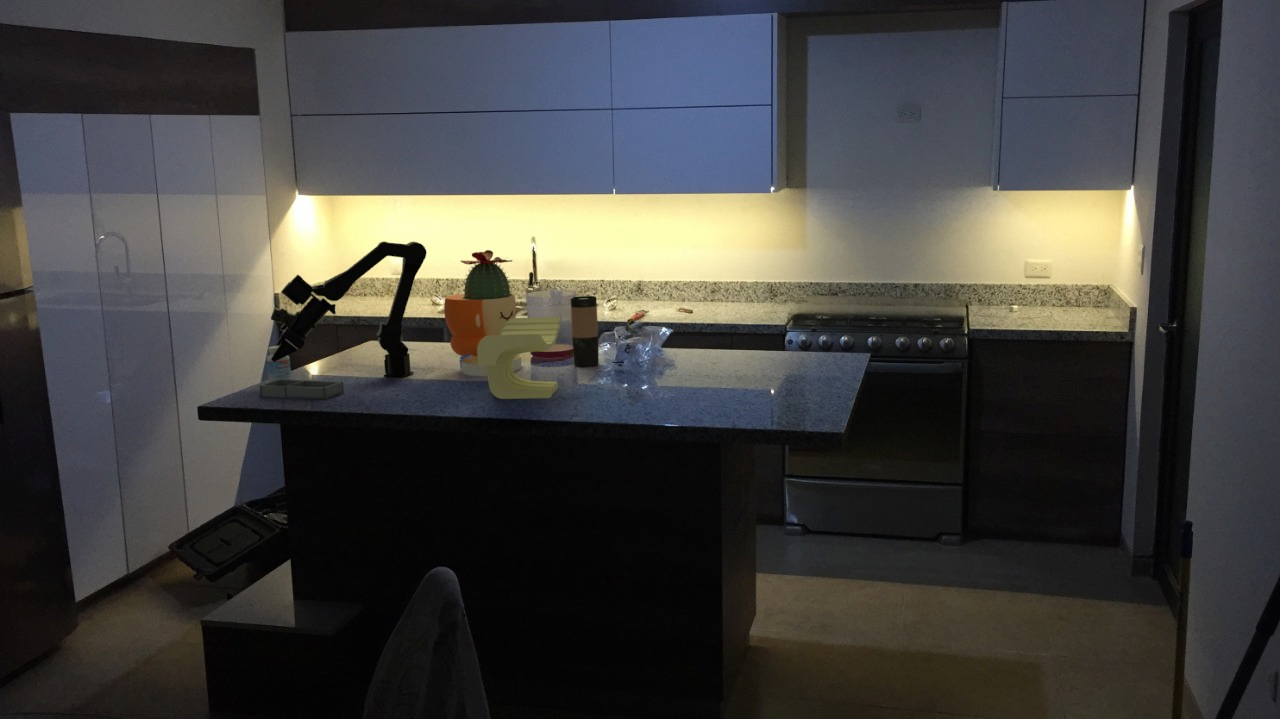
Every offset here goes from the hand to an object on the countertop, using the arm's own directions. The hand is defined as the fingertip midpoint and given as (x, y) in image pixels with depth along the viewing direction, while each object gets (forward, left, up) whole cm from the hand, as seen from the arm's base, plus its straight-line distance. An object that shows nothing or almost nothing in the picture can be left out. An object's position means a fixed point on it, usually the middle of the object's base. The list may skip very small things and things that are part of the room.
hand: (272, 358), depth 307 cm
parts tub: (-15, +8, -8) cm, 19 cm away
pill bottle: (-1, -1, -8) cm, 8 cm away
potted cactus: (-48, -34, -8) cm, 59 cm away
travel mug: (-76, -45, -8) cm, 89 cm away
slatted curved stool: (-75, -4, -8) cm, 76 cm away
